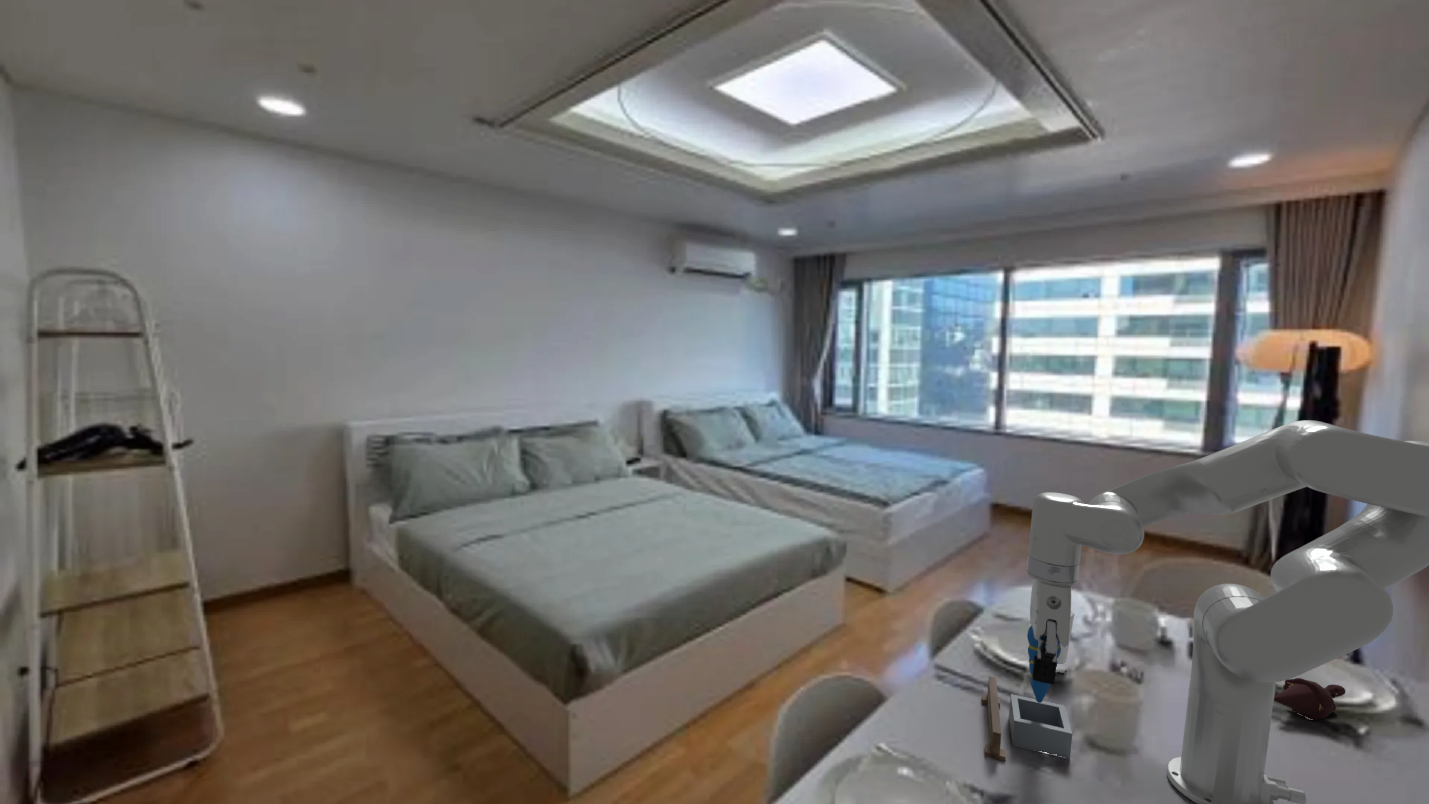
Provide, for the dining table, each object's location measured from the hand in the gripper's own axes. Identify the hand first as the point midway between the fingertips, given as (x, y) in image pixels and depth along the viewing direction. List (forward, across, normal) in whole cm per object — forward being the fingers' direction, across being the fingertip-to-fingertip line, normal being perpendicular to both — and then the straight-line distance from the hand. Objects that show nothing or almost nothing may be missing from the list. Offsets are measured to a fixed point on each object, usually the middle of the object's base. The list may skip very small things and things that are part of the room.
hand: (1041, 672), depth 104 cm
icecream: (+11, +28, -47) cm, 56 cm away
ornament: (+6, 0, 0) cm, 6 cm away
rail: (+12, 0, +6) cm, 13 cm away
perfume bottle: (+12, +27, -6) cm, 30 cm away
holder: (+12, 0, 0) cm, 12 cm away
